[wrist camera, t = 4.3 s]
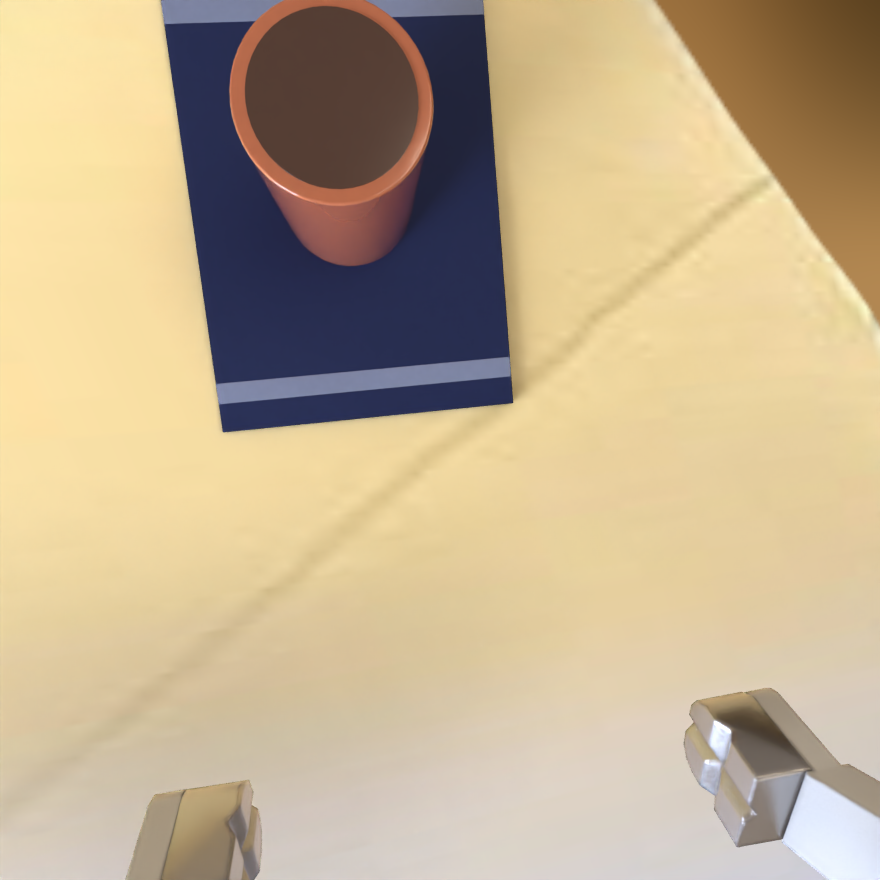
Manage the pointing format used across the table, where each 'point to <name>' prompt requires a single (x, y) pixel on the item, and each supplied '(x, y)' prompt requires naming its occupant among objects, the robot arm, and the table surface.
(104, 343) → the table surface
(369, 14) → the tumbler
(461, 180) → the cloth
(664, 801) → the table surface
